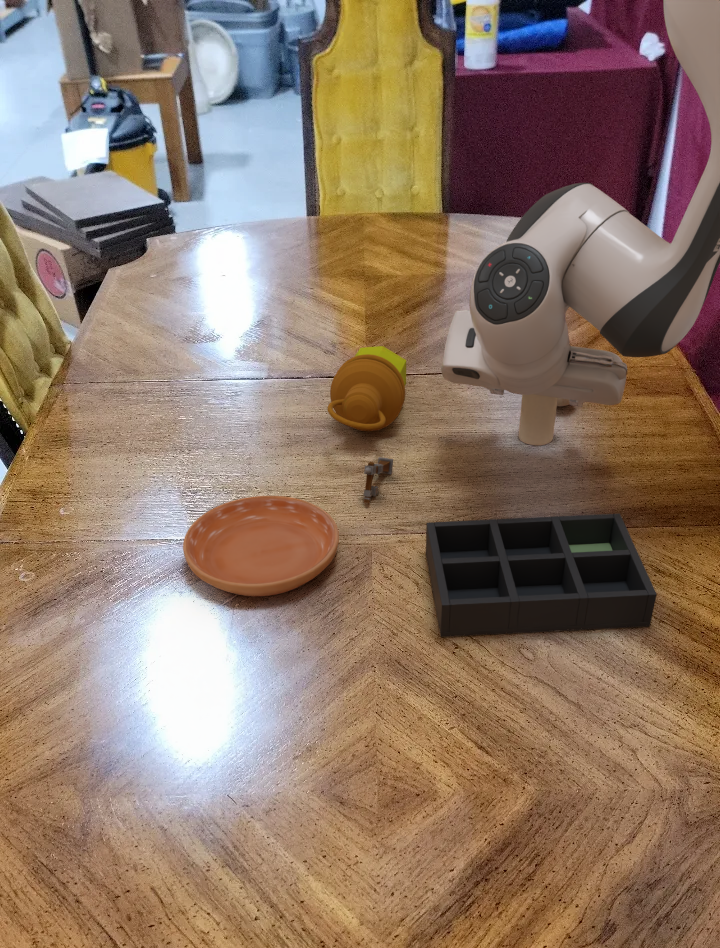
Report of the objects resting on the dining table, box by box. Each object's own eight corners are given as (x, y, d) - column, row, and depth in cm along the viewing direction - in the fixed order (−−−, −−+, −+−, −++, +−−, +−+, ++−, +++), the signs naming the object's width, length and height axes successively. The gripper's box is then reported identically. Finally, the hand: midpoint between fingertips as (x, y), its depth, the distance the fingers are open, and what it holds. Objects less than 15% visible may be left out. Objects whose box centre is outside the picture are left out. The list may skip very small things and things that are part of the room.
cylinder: (549, 428, 124) (556, 360, 118) (556, 444, 120) (564, 375, 114) (515, 429, 123) (521, 361, 118) (521, 446, 120) (528, 377, 114)
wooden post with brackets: (356, 502, 110) (360, 461, 108) (374, 493, 117) (378, 455, 116) (371, 505, 109) (376, 464, 108) (389, 495, 117) (393, 457, 115)
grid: (614, 544, 104) (620, 513, 102) (650, 626, 94) (657, 594, 92) (425, 553, 104) (426, 522, 101) (440, 637, 94) (441, 605, 91)
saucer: (228, 627, 95) (225, 603, 93) (162, 547, 106) (157, 524, 104) (368, 572, 101) (368, 548, 100) (293, 502, 112) (291, 479, 110)
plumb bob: (345, 379, 136) (306, 450, 115) (360, 315, 131) (322, 377, 110) (408, 398, 136) (380, 472, 115) (426, 334, 131) (400, 400, 110)
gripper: (634, 332, 101) (632, 380, 114) (441, 308, 106) (461, 357, 120) (620, 392, 101) (621, 433, 114) (427, 365, 106) (449, 407, 119)
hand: (537, 394), depth 117 cm, fingers open, 8 cm apart
